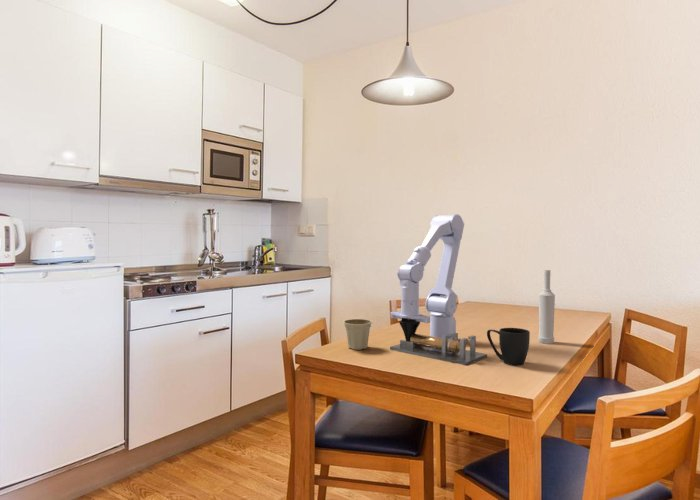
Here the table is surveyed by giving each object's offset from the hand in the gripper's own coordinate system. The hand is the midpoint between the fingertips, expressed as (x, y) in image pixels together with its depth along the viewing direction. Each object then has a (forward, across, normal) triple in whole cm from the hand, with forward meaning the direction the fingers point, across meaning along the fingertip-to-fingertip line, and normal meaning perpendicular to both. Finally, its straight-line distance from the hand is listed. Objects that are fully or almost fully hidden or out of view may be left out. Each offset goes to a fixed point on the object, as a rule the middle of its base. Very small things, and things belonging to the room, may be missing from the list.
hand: (409, 342), depth 152 cm
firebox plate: (+2, +10, 0) cm, 11 cm away
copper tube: (+1, +10, 0) cm, 10 cm away
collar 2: (+2, +21, 0) cm, 21 cm away
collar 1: (+2, +15, 0) cm, 15 cm away
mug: (+2, +31, +5) cm, 31 cm away
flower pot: (+2, -12, -12) cm, 17 cm away
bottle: (+2, +30, +39) cm, 49 cm away
